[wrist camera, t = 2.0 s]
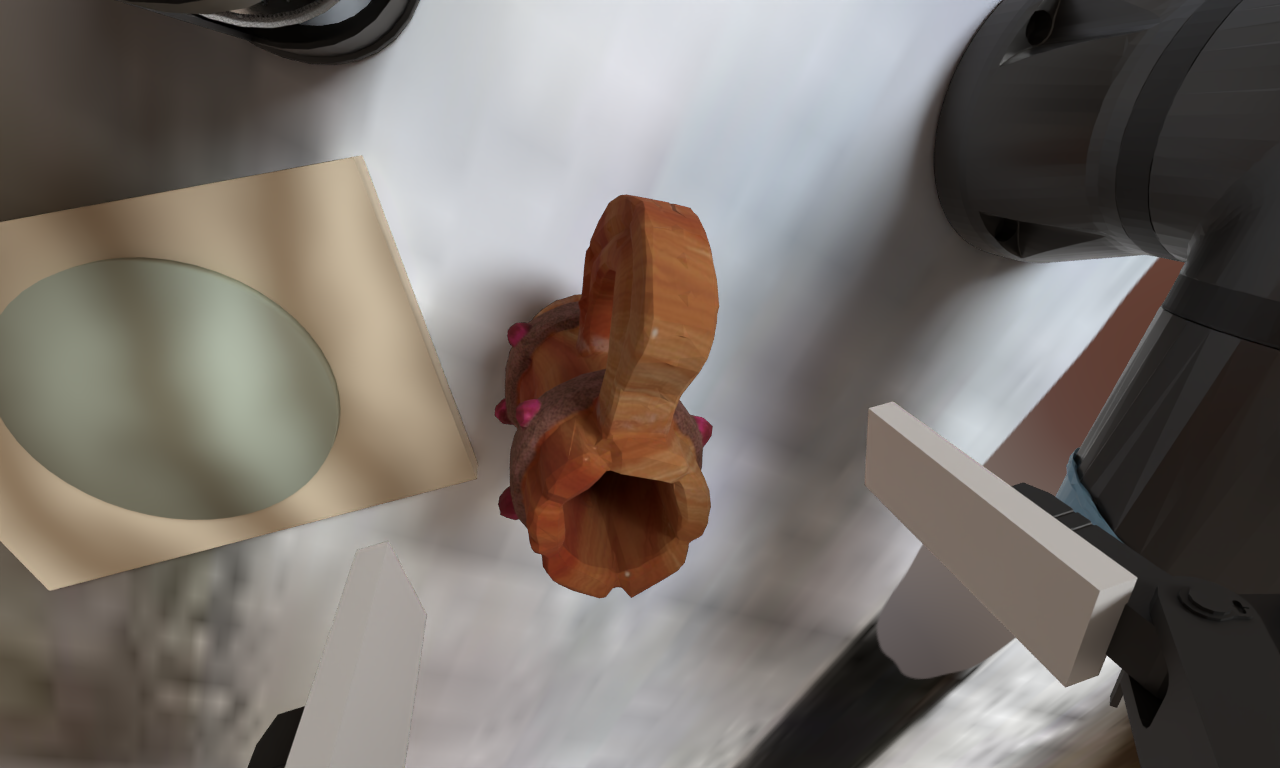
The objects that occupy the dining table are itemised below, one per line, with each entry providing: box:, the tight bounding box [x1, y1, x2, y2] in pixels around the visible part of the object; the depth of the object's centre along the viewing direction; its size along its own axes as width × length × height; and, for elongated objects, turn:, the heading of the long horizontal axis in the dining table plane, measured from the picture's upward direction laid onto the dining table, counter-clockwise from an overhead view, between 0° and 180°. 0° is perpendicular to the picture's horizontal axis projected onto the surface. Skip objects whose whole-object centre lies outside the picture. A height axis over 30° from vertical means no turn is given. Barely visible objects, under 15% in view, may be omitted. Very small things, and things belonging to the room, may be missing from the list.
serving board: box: [0, 155, 478, 591], centre depth 25 cm, size 22×17×2 cm
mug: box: [495, 195, 719, 598], centre depth 22 cm, size 15×8×15 cm, turn 167°
